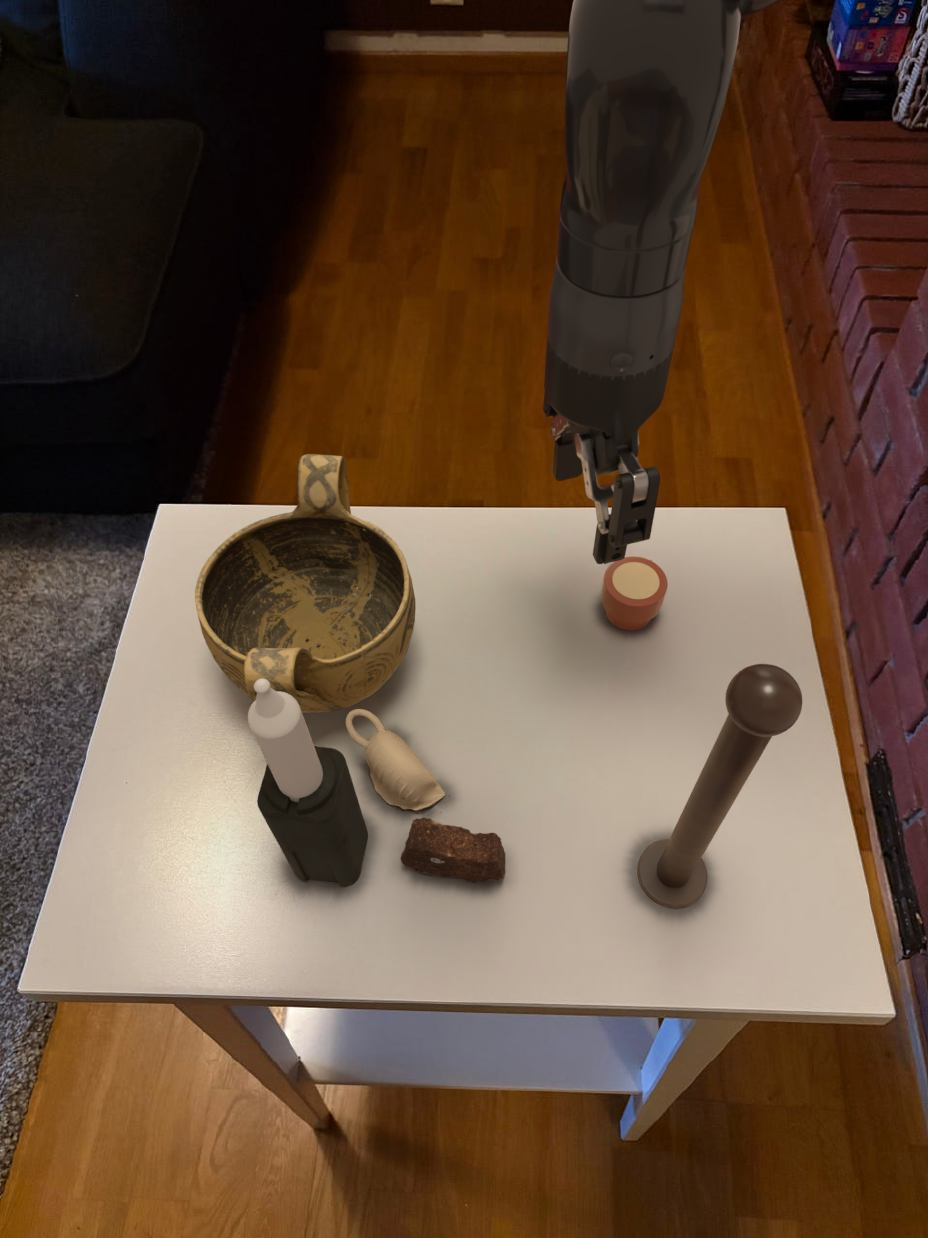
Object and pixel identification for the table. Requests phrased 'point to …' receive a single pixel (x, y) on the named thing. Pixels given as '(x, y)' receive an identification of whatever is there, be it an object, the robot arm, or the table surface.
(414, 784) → the decorative ornament
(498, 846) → the stone
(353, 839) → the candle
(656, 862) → the walnut post
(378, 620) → the ceramic bowl
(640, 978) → the table surface
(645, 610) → the terracotta bowl
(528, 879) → the table surface
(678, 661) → the table surface
